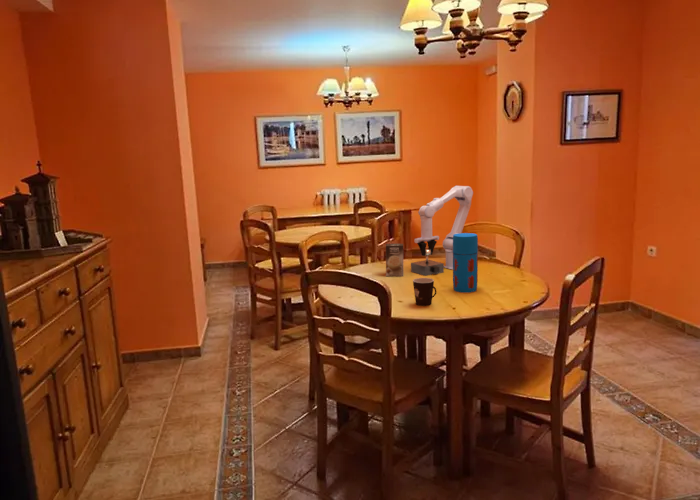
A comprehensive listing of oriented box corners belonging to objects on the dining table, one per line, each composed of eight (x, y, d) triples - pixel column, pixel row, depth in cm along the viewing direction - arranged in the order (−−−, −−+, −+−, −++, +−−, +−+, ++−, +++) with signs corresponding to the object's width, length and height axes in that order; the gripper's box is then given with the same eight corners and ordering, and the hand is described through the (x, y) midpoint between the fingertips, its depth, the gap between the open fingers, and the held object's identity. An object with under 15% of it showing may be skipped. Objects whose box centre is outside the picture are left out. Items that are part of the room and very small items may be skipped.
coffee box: (385, 276, 263) (384, 245, 260) (386, 273, 269) (385, 243, 266) (403, 276, 262) (403, 245, 259) (403, 273, 268) (403, 243, 265)
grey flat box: (429, 268, 277) (429, 259, 277) (446, 273, 265) (446, 264, 265) (411, 271, 272) (410, 262, 271) (427, 276, 260) (427, 267, 259)
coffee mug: (411, 301, 218) (410, 278, 216) (431, 300, 218) (431, 277, 216) (417, 309, 206) (416, 285, 204) (438, 308, 207) (438, 284, 205)
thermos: (478, 287, 236) (478, 233, 232) (476, 293, 226) (476, 237, 222) (454, 286, 240) (454, 232, 235) (451, 292, 230) (451, 236, 225)
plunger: (427, 262, 271) (427, 248, 270) (432, 263, 268) (432, 249, 266) (421, 263, 269) (421, 249, 268) (426, 264, 266) (426, 250, 265)
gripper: (433, 226, 272) (433, 252, 275) (410, 229, 265) (411, 255, 268) (441, 228, 266) (441, 254, 269) (418, 231, 259) (419, 257, 262)
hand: (427, 255), depth 268 cm, fingers closed on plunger, 4 cm apart
